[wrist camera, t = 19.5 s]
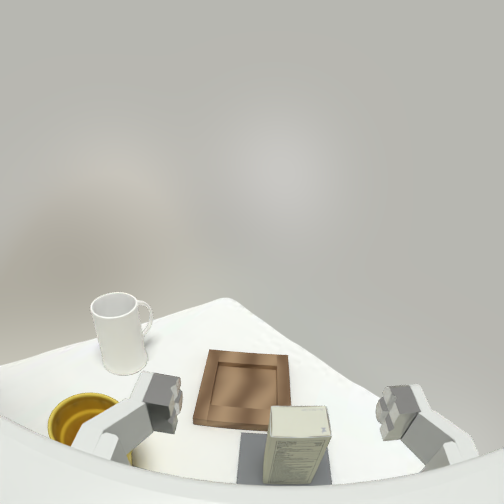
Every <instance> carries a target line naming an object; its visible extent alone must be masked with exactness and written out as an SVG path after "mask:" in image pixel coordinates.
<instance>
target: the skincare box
mask: <svg viewBox="0 0 504 504" xmlns="http://www.w3.org/2000/svg"><path fill="white" fill-rule="evenodd" d="M331 437H332V434H331V426H330V420H329V414H328V410H327V407H326V406H271V410H270V418H269V425H268V433H267V440H266V447H265V453H264V462H263V483H264V484H310V483H311V481H312V479H313V477H314V475H315V473H316V471H317V469H318V466H319V464H320V462H321V460H322V458H323V455H324V453H325V451H326V448H327V446H328V444H329V442H330V439H331Z"/></svg>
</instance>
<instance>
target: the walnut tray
mask: <svg viewBox="0 0 504 504" xmlns="http://www.w3.org/2000/svg"><path fill="white" fill-rule="evenodd" d="M271 406H291V397H290V380H289V364H288V355H274V354H257V353H244V352H231V351H220V350H210V349H209V353H208V357H207V361H206V365H205V370H204V374H203V378H202V382H201V386H200V390H199V394H198V398H197V403H196V407H195V411H194V415H193V423H194V424H196V425H204V426H212V427H221V428H231V429H243V430H258V431H268V425H269V418H270V410H271Z"/></svg>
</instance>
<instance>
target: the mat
mask: <svg viewBox="0 0 504 504" xmlns="http://www.w3.org/2000/svg"><path fill="white" fill-rule="evenodd" d="M266 440H267V434H256V433H242V432H241V443H240V454H239V464H238V475H237V484H244V485H261V486H319V485H332V480H331V472H330V464H329V456H328V448H326V451H325V453H324V455H323V458H322V460H321V462H320V464H319V466H318V469H317V471H316V473H315V475H314V477H313V479H312V481H311V483H310V484H264V483H263V462H264V453H265V447H266Z"/></svg>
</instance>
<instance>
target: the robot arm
mask: <svg viewBox="0 0 504 504" xmlns="http://www.w3.org/2000/svg"><path fill="white" fill-rule="evenodd" d="M180 386H181V379H180V377H175V376H170V375H164V374H159V373H153V372H148V371H142V372H141V373H140V376H139V378H138V380H137V382H136V384H135V386H134V389H133V391H132V393H131V395H130V398H129V399H126V398H125V399H124V400H122V401H120V402H119V403H117V404H115V405H114V406H112V407H110V408H109V409H107V410H105V411H104V412H102V413H100V414H99V415H97V416H95V417H93V418H92V419H90V420H88V421H87V422H85V423H83V424H82V425H81V427H80V429H79V431H78V433H77V435H76V437H75V439H74V441H73V443H72V445H71V447H70V446H68V445H65V444H62V443H60V442H57V441H55V440H53V439H50V438H48V437H45V436H43V435H41V434H39V433H36V432H34V431H32V430H30V429H28V428H26V427H23V426H21V425H19V424H17V423H15V422H14V421H12V420H10V419H8V418H6V417H3V416H0V504H504V447H503V448H500V449H497V450H495V451H492V452H489V453H487V454H484V455H481V456H480V455H479V453H478V451H477V448H476V446H475V444H474V442H473V440H472V438H471V436H470V435H469V434H467V433H466V432H464V431H463V430H461V429H460V428H459V427H457V426H456V425H455V424H453V423H452V422H450V421H449V420H447V419H446V418H445V417H443V416H442V415H440V414H439V413H438V412H436V411H434V410H433V411H432V410H431V408H430V406H429V403H428V401H427V399H426V397H425V395H424V393H423V390H422V389H421V386H420V385H419V384H412V385H399V386H387V387H386V388H385V389H384V390H383V392H382V393H383V396H384V397H382V398H381V399H380V400H379V401H378V403H377V405H376V418H377V421H378V422H379V423H380V424H382V425H381V427H380V432H381V435H382V439H383V441H389V440H399V439H401V441H402V442H403V443H404V444H405V445H406V446H407V447H408V448H409V449H410V450H411V451H412V452H413V453H414V454H415V455H416V456H417V457H418V458H419V459H420V460H421V461H422V462H423V463H424V465H425V467H424V468H423V469H422V470H421V471H420V472H419V473H415V474H410V475H405V476H400V477H394V478H388V479H381V480H374V481H367V482H358V483H348V484H336V485H319V486H261V485H244V484H232V483H222V482H213V481H206V480H199V479H192V478H186V477H180V476H174V475H169V474H164V473H159V472H155V471H150V470H146V469H142V468H138V467H134V466H131V464H130V462H129V460H128V458H127V456H126V455H127V454H128V453H129V452H130V451H132V450H133V449H134V448H135V447H136V446H138V445H139V444H140V443H141V442H142V441H143V440H145V439H146V438H147V437H148V436H149V435H150V434H152V433H153V431H157V432H163V433H169V434H174V433H175V429H176V426H177V422H178V420H177V415H178V414H179V413H180V411H181V408H182V391H181V390H180Z"/></svg>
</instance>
